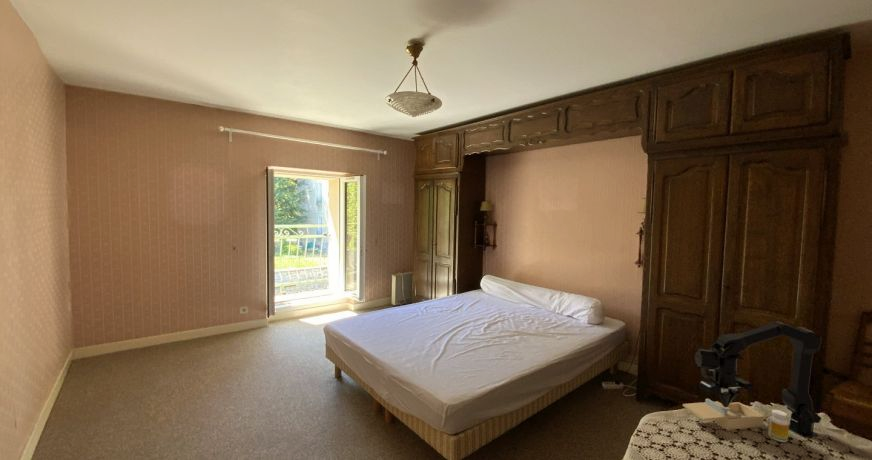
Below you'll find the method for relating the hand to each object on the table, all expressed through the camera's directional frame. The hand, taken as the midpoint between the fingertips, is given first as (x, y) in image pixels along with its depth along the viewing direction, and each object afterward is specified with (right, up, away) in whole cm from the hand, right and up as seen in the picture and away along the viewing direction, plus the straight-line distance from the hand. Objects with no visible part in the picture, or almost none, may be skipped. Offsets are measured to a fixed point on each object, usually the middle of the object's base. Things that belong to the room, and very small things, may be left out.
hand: (724, 406), depth 142 cm
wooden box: (+4, -6, +1) cm, 8 cm away
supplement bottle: (+12, -7, -9) cm, 17 cm away
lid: (-6, -2, -1) cm, 6 cm away
